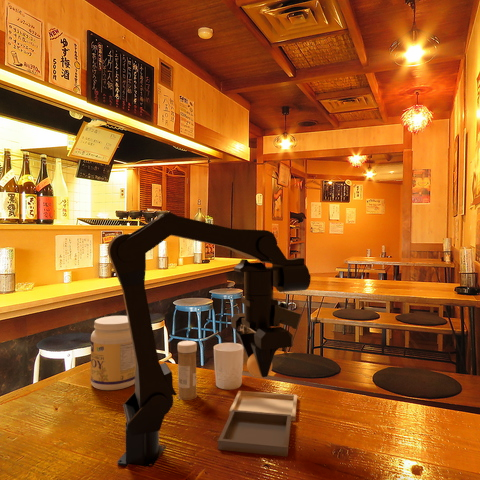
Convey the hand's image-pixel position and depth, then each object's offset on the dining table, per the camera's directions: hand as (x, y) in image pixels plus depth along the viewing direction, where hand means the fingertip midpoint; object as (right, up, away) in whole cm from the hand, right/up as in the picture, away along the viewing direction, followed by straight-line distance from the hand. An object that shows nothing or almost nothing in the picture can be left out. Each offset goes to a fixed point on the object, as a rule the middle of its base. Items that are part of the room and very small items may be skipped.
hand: (259, 372), depth 76 cm
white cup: (-7, -12, +24) cm, 28 cm away
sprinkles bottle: (-17, -12, +16) cm, 26 cm away
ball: (0, -1, 0) cm, 1 cm away
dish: (-1, -12, -2) cm, 12 cm away
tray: (+2, -12, +10) cm, 16 cm away
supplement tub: (-37, -12, +26) cm, 47 cm away
